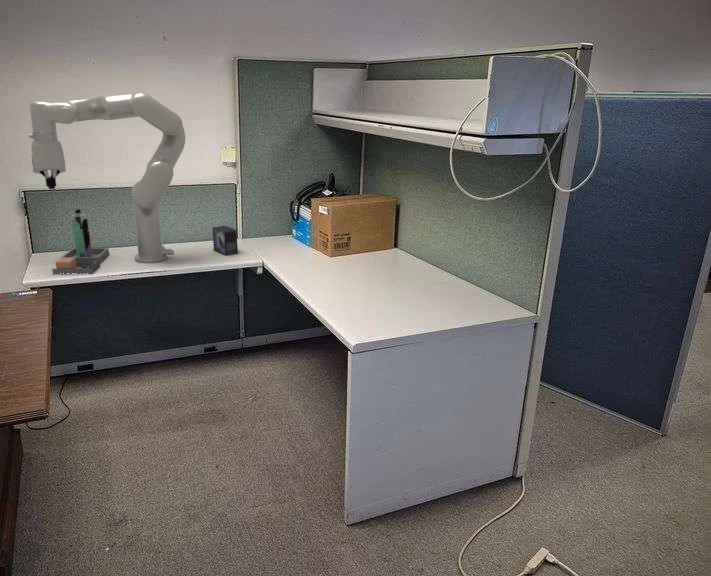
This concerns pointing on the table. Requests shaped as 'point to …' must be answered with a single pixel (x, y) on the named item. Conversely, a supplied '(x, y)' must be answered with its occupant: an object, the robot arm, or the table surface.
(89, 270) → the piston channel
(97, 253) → the tray
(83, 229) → the spray can
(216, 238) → the small box
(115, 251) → the table surface
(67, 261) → the block
